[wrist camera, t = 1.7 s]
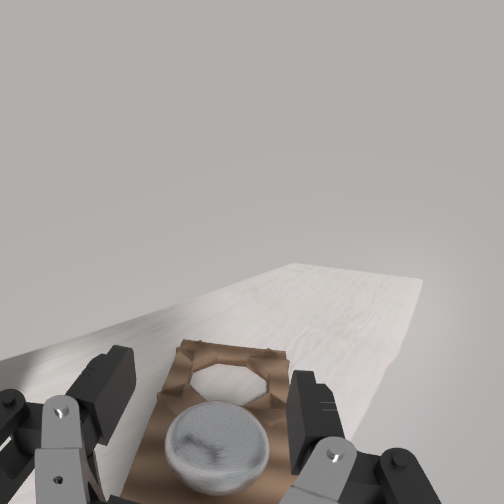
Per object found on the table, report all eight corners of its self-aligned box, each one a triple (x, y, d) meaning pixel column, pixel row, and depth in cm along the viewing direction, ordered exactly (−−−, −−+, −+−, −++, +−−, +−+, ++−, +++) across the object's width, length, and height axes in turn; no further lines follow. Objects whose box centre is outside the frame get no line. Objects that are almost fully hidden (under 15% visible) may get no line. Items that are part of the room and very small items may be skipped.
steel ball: (149, 475, 25) (136, 416, 22) (206, 429, 33) (209, 368, 30) (227, 527, 20) (235, 481, 17) (278, 467, 28) (296, 408, 26)
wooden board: (304, 536, 20) (309, 530, 20) (115, 511, 20) (111, 504, 20) (286, 358, 54) (288, 349, 53) (180, 346, 54) (180, 337, 53)
